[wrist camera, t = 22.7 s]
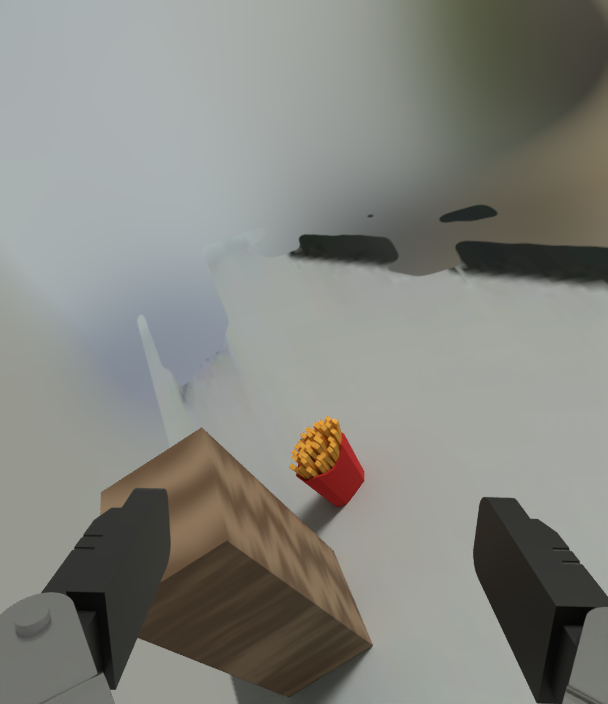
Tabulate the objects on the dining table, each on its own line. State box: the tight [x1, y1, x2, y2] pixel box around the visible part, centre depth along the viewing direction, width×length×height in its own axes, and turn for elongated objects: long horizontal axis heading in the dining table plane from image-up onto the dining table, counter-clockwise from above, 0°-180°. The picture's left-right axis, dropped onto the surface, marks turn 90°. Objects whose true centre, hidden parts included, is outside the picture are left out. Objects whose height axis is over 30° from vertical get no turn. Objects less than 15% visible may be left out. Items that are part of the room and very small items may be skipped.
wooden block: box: [100, 428, 373, 697], centre depth 52 cm, size 13×12×32 cm
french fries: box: [289, 416, 364, 507], centre depth 68 cm, size 9×4×13 cm, turn 136°
